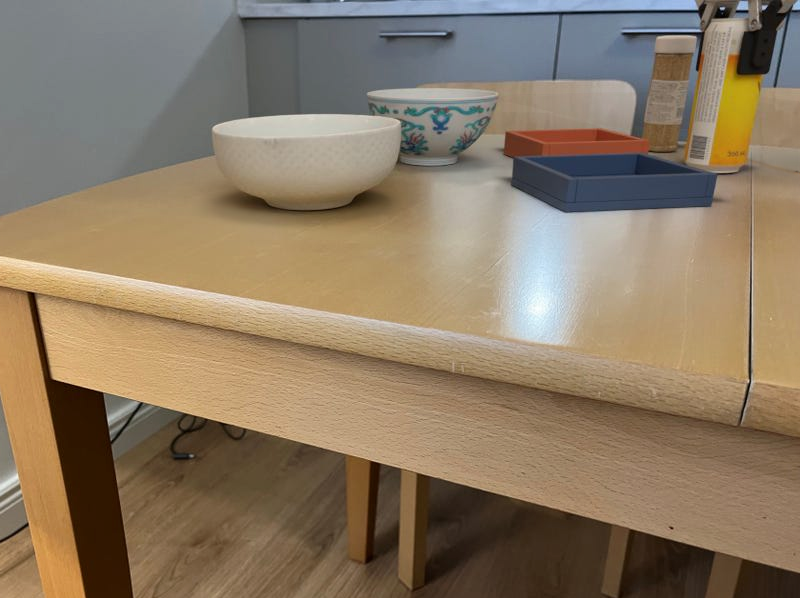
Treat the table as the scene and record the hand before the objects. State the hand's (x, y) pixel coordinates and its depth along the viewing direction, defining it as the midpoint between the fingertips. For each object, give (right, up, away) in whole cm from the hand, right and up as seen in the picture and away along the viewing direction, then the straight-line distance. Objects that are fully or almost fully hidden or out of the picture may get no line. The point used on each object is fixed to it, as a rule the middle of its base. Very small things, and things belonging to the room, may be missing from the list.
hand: (730, 71), depth 78 cm
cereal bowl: (-44, -16, -9) cm, 47 cm away
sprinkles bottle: (+1, -3, +18) cm, 18 cm away
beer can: (0, -9, +4) cm, 10 cm away
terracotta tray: (-13, -6, +12) cm, 18 cm away
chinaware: (-30, -6, +12) cm, 33 cm away
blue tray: (-16, -14, -7) cm, 23 cm away
